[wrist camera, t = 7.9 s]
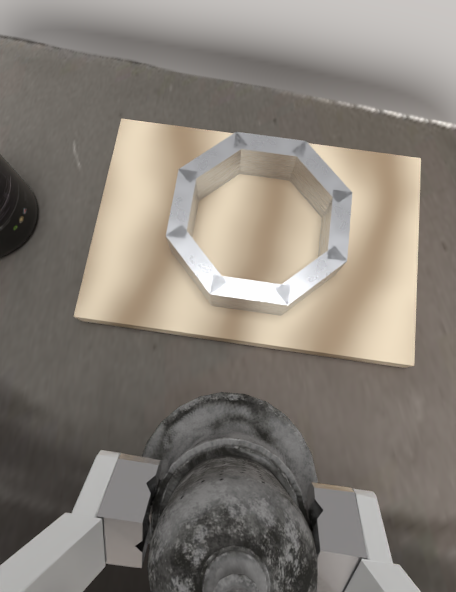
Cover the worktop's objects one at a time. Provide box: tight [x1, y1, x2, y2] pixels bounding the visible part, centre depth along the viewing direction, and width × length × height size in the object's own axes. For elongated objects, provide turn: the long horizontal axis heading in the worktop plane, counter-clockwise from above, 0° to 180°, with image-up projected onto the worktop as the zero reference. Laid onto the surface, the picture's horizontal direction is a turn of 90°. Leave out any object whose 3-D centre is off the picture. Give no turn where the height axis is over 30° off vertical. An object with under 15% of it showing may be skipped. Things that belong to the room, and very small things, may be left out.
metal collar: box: [166, 132, 352, 316], centre depth 27 cm, size 11×11×3 cm
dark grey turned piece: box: [142, 392, 318, 592], centre depth 11 cm, size 6×6×12 cm
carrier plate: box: [74, 119, 421, 368], centre depth 29 cm, size 22×15×2 cm
